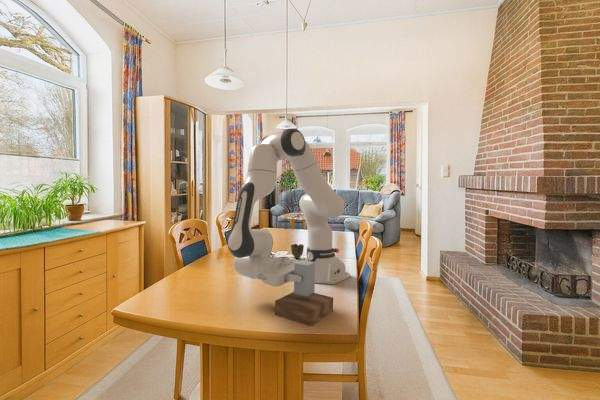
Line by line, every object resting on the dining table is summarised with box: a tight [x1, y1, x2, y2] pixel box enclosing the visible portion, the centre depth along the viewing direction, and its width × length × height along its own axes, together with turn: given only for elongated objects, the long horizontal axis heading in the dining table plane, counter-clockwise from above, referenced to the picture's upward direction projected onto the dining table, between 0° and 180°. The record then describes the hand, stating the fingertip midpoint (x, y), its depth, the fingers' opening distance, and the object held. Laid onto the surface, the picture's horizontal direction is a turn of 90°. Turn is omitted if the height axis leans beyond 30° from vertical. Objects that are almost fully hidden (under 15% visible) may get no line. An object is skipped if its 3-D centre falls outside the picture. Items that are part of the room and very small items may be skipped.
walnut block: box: [274, 291, 334, 327], centre depth 103 cm, size 14×14×5 cm
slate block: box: [293, 259, 316, 296], centre depth 103 cm, size 5×5×10 cm
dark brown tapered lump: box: [290, 243, 305, 259], centre depth 177 cm, size 8×7×8 cm
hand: (306, 276), depth 102 cm, fingers closed on slate block, 5 cm apart
